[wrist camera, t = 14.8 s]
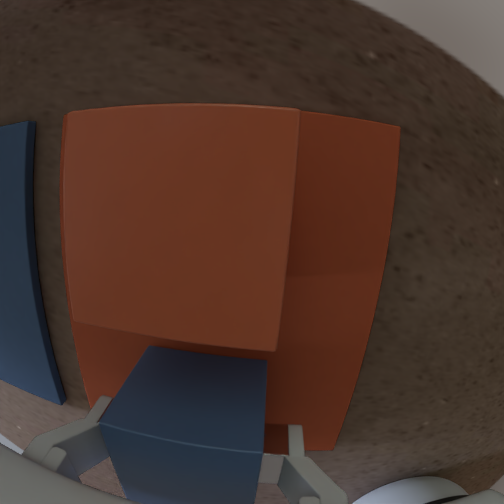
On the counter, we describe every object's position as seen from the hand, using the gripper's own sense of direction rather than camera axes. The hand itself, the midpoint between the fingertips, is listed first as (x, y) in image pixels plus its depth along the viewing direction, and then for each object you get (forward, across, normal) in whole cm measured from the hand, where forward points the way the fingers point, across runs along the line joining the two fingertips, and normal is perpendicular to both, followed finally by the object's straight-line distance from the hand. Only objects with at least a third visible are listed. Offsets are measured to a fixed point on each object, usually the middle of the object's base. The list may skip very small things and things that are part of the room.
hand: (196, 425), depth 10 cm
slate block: (+2, 0, 0) cm, 2 cm away
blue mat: (+2, +14, -4) cm, 15 cm away
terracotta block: (+2, 0, -8) cm, 8 cm away
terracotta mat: (+2, 0, -4) cm, 5 cm away
